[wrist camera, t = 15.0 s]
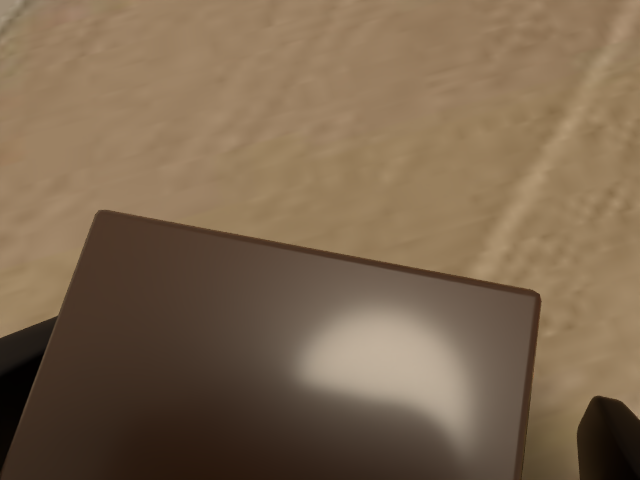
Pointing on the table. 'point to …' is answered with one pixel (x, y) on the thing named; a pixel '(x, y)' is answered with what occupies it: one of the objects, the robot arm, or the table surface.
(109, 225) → the walnut block
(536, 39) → the table surface
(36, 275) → the table surface
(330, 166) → the table surface
